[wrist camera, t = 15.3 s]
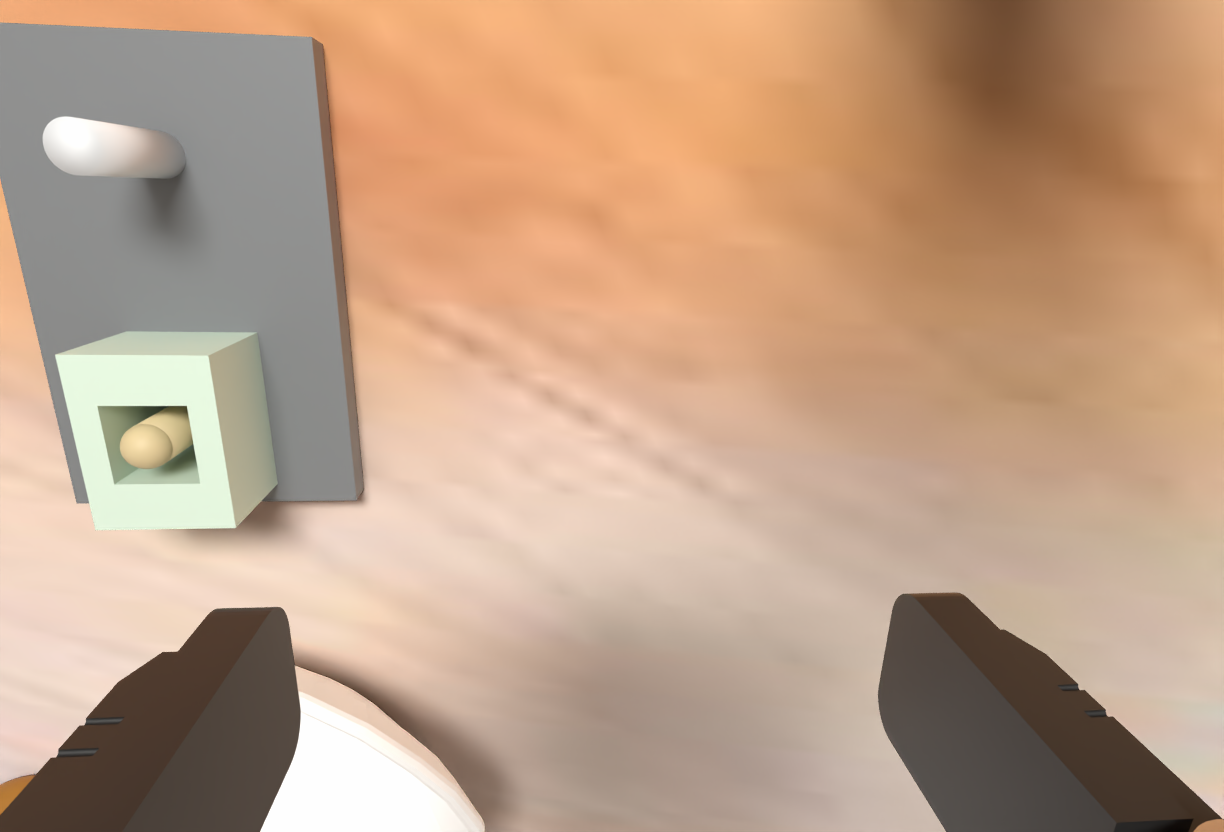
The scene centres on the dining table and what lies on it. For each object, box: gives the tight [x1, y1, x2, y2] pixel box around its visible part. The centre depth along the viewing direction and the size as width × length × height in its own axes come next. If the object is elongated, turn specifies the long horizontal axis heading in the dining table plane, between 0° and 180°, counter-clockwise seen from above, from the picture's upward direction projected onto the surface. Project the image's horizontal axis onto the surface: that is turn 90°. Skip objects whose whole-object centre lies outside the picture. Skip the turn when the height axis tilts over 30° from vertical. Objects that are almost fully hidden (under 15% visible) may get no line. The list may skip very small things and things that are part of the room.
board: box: [0, 23, 364, 503], centre depth 30 cm, size 22×14×8 cm, turn 179°
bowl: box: [260, 666, 485, 832], centre depth 39 cm, size 21×21×9 cm
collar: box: [55, 331, 278, 530], centre depth 32 cm, size 8×6×5 cm
